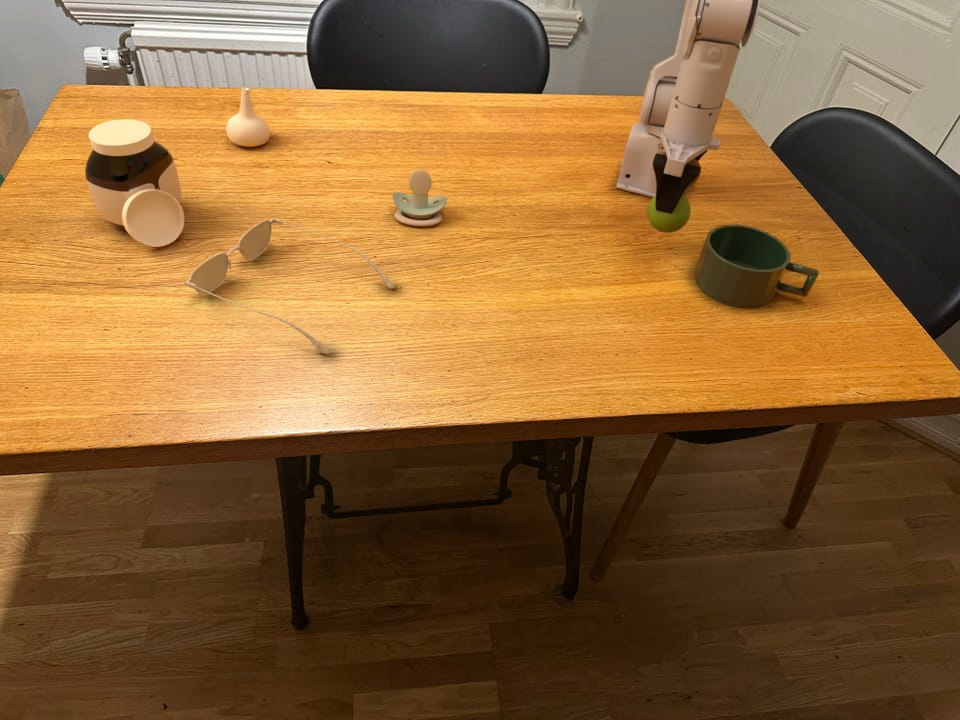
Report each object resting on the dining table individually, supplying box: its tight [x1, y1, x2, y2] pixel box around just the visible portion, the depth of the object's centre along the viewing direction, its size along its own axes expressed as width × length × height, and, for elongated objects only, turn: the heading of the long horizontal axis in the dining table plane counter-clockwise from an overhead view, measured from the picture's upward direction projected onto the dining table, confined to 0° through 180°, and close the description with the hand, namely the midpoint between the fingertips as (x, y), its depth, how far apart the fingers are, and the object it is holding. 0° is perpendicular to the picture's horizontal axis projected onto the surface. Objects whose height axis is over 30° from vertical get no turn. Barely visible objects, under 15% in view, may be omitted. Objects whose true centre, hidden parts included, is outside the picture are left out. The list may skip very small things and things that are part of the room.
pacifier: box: [392, 169, 448, 227], centre depth 93 cm, size 7×6×6 cm
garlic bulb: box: [225, 87, 271, 148], centre depth 104 cm, size 6×6×8 cm
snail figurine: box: [646, 142, 702, 234], centre depth 88 cm, size 5×6×12 cm
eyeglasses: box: [184, 217, 395, 355], centre depth 79 cm, size 15×18×4 cm
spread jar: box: [84, 119, 185, 248], centre depth 85 cm, size 12×11×12 cm
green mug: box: [693, 224, 820, 309], centre depth 86 cm, size 14×10×6 cm
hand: (667, 202), depth 90 cm, fingers closed on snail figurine, 4 cm apart
